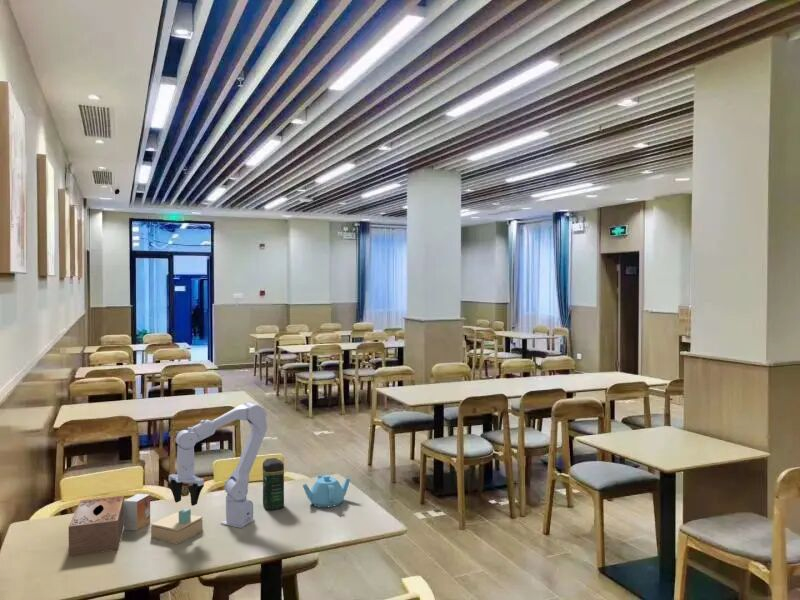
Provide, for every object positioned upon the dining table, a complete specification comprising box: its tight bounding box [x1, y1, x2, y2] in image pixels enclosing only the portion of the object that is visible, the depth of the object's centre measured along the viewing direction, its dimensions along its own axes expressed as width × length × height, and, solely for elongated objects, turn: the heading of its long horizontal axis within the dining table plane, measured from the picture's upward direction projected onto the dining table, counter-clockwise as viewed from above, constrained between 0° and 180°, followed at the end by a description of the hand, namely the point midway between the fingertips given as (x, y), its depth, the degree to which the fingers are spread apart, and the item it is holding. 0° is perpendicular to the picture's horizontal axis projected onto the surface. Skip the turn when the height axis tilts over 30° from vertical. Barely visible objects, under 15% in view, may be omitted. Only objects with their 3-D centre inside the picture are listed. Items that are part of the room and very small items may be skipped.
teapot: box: [302, 474, 351, 508], centre depth 241 cm, size 15×15×11 cm
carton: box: [150, 518, 204, 545], centre depth 210 cm, size 12×12×4 cm
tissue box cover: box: [68, 495, 125, 557], centre depth 207 cm, size 26×14×10 cm, turn 20°
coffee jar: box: [262, 457, 285, 510], centre depth 237 cm, size 10×8×19 cm
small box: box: [123, 493, 151, 531], centre depth 217 cm, size 8×6×10 cm
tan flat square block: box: [150, 508, 203, 531], centre depth 210 cm, size 12×12×5 cm
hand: (186, 503), depth 211 cm, fingers open, 7 cm apart
